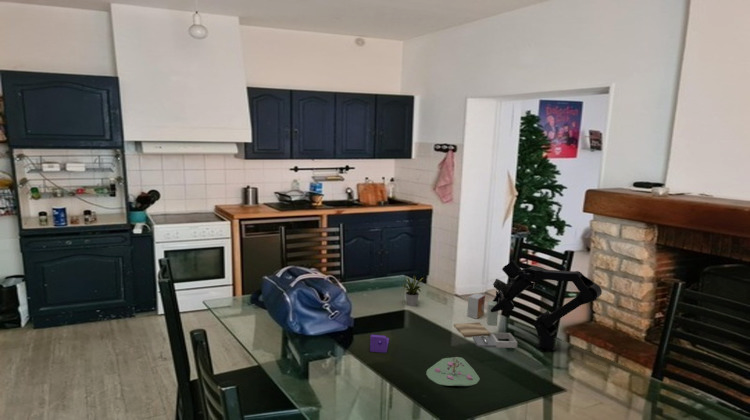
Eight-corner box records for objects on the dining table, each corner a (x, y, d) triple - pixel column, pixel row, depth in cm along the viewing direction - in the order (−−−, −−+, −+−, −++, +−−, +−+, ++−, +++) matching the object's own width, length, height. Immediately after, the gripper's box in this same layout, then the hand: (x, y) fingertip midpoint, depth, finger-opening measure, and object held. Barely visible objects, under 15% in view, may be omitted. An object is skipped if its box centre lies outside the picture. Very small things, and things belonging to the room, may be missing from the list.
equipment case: (509, 338, 224) (510, 332, 223) (516, 347, 214) (517, 342, 214) (472, 337, 223) (472, 332, 223) (478, 347, 213) (478, 341, 213)
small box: (477, 319, 245) (478, 299, 243) (466, 316, 248) (468, 296, 247) (484, 314, 251) (485, 295, 250) (473, 312, 255) (475, 292, 253)
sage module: (495, 321, 225) (496, 301, 224) (496, 325, 220) (498, 305, 219) (486, 320, 226) (487, 301, 224) (487, 325, 221) (489, 305, 219)
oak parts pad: (491, 335, 226) (491, 333, 226) (464, 337, 223) (464, 335, 223) (479, 324, 239) (479, 322, 238) (453, 325, 236) (453, 323, 235)
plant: (425, 356, 205) (426, 335, 203) (476, 359, 203) (477, 339, 202) (426, 387, 180) (427, 364, 179) (483, 391, 178) (485, 368, 177)
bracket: (386, 353, 206) (386, 337, 204) (370, 352, 206) (370, 336, 205) (389, 341, 217) (389, 326, 216) (373, 340, 218) (374, 325, 217)
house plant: (392, 307, 258) (394, 276, 255) (399, 298, 271) (400, 269, 268) (419, 310, 254) (421, 280, 251) (424, 301, 267) (426, 272, 264)
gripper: (501, 268, 228) (476, 289, 231) (508, 280, 209) (480, 303, 212) (518, 285, 228) (492, 306, 231) (525, 299, 210) (497, 322, 213)
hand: (490, 309), depth 222 cm, fingers closed on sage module, 5 cm apart
